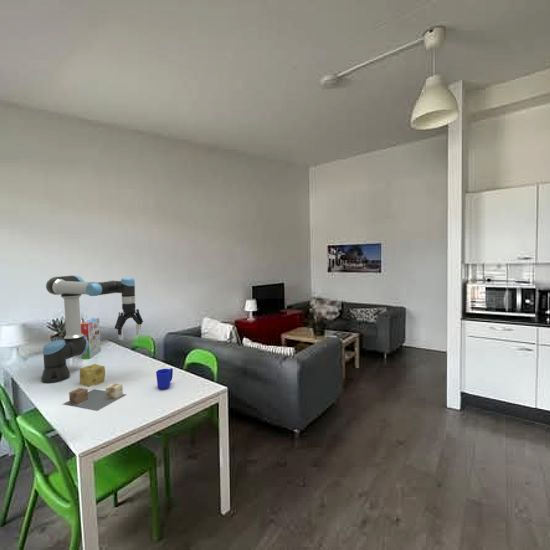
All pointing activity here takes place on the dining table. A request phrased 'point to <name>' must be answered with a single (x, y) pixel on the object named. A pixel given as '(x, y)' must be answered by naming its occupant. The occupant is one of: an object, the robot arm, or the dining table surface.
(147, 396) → the dining table surface
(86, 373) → the cheese
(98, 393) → the rubber mat
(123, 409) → the dining table surface
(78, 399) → the walnut block
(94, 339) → the game box
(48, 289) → the robot arm
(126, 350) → the dining table surface
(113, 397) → the maple block
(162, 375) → the mug
